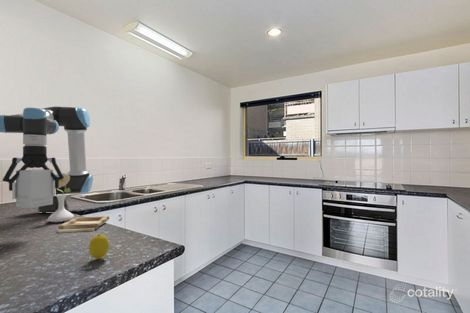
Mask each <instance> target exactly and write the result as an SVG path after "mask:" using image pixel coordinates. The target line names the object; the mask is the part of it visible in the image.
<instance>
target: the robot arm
mask: <svg viewBox="0 0 470 313" xmlns="http://www.w3.org/2000/svg"><path fill="white" fill-rule="evenodd" d="M22 110H23V111H22V113H17V114H11V115H7V114H6V115H5V114H2V115H1V114H0V133H4V134H7V133H9V134H10V133H12V134H22V144H23V145H24V146H23V147H22V157H12V158H11V164H10V166H9V167H8V169H7V171H6V173H5V174H4V176H3V178H2V182H7V183H8V191H9V192H10V191H12V193H11V194H12V197H11V198H12V200H16V179H17V177H18V176H19V173H20V171H21V170H28V169H34V168H36V169H40V168H42V170H51V168H49V167H48V166H47V164H46V163H47V162H48V161H49V163H51V165H52V166H53V168H54V170H55V172H56V173H54V172H53V173H52V172H51V171H50V172H51V177H52V178H53V204H51V205H45V206H40V207H37V213H38V212H42V213H46V212H56V211H57V210H58V207H59V202H58V198H57V197H56V195H58V194H62V193H63V192H64V193H63V194H67V195H74V194H75V195H76V194H87V193H89V192H91V189H92V187H93V180H94V178H93V175H92V174H90V172H89V170H88V169H87V161H86V159H87V158H86V141H85V138H86V137H85V132H87V130H88V129H87V128H90V125H91V120H90V115H89V112H88V111H87V110H86V108H84V107H70V106H49V107H43V108H37V107H24V108H23V109H22ZM60 127H63V129H64V131H65V132H66V133H67V142H68V143H67V144H68V146H67V147H68V160H69V171H68V172H67V173H66V174H67V175H69V176H70V181H68V183H67V184H66V185H65V186H66V189H67V188H69V189H70V191H71V192H68V193H66V192H65V191H64V190H65V186H62V187H59V180H61V179H63V178H64V176H63V174H64V173H63V172H62V171H61V169H60V167H59V165H58V164H57V159H56V157H48V156H47V148H48V147H47V146H46V145H47V143H48V142H47V141H48V140H47V137H48V136H47V135H53V134H56V133H57V132H58V131H59V129H60ZM20 162H22V163H23V165H22V166H21V168H20V169H18V170H19V171H18V172H17V173H16V172H15V174H14V175H13V172H14V171H15V169H16V168H17V165H18V164H19V163H20ZM12 175H13V176H12ZM58 176H59V177H58ZM54 180H55V181H54ZM58 187H59V188H58ZM57 188H58V189H59V190H62V191H63V192H61V191H59V190H57ZM64 208H65V209H66V210H67V209H68V210H69V205H68V202H67V200H66V198H65V199H64ZM68 210H67V211H68Z"/></svg>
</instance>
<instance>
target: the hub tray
mask: <svg viewBox="0 0 470 313" xmlns="http://www.w3.org/2000/svg"><path fill="white" fill-rule="evenodd" d="M109 220H110V215H105V216H104V215H101V216H80V217H75V216H74V218H73V219H71V220H68V221H64V223H62V224H60V225H58V226H57V227H58V230H57V231H58V232H57V233H59V234H60V233H61V234H62V233H63V234H64V233H79V232H82V233H83V232H94V231H96V230H97V229H98V228H100V227H102V225H104V224H105V223H107V221H109ZM99 226H100V227H99Z"/></svg>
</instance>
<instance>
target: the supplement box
mask: <svg viewBox="0 0 470 313" xmlns="http://www.w3.org/2000/svg"><path fill="white" fill-rule="evenodd" d="M19 170H20V169H18V170H15V174H16V173H17V172H18V171H19ZM50 171H51V172H52V173H54V170H53V169H50V170H44V169H43V168H42V169H40V168H37V169H26V170H21V171H20V173H19V176H18V177H17V179H16V180H15V182H16V199H15V203H16V204H15V207H16V208H24V209H33V208H34V209H35V208H39V207H40V206H45V205H51V204H53V178H52V177H51V172H50Z"/></svg>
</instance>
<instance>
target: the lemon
mask: <svg viewBox="0 0 470 313" xmlns="http://www.w3.org/2000/svg"><path fill="white" fill-rule="evenodd" d="M109 248H110V241H109V239H108V238H107V237H106V235H104V234H101V233H98V234H97V235H95V236H94V237H92V239H91V240H90V241H89V246H88V251H89V252H88V253H89V254H90V256H91V257H92V258H94V259H97V260H101V259H102V258H103V257H105V255H106V254H107V253H108V251H109Z"/></svg>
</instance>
